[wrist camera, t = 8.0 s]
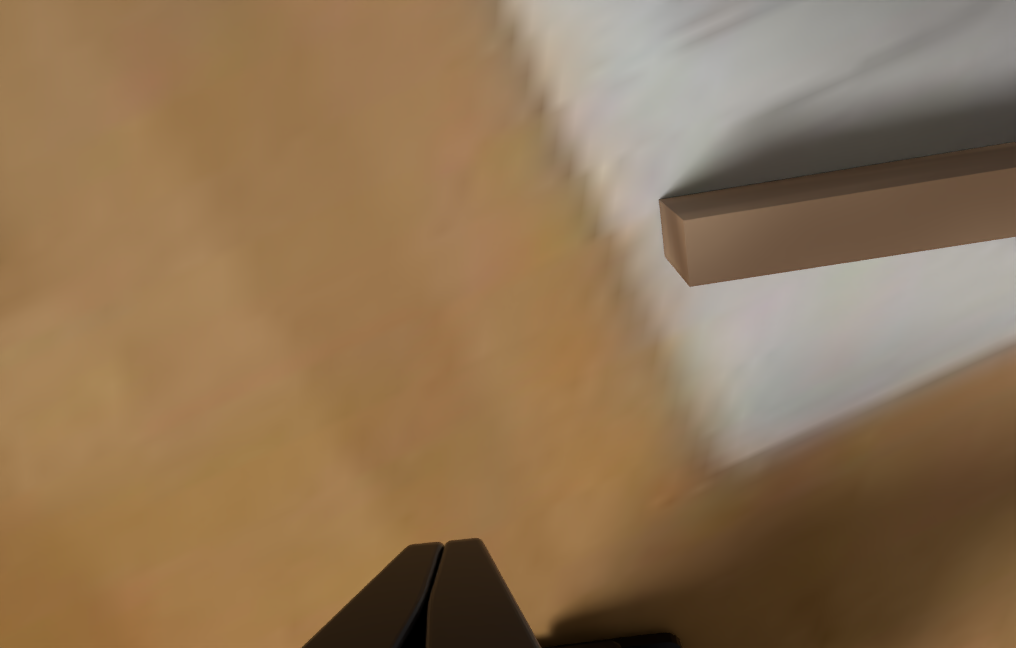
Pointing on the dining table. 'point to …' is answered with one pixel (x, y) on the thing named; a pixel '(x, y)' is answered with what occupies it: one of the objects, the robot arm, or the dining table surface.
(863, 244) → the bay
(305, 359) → the dining table surface
